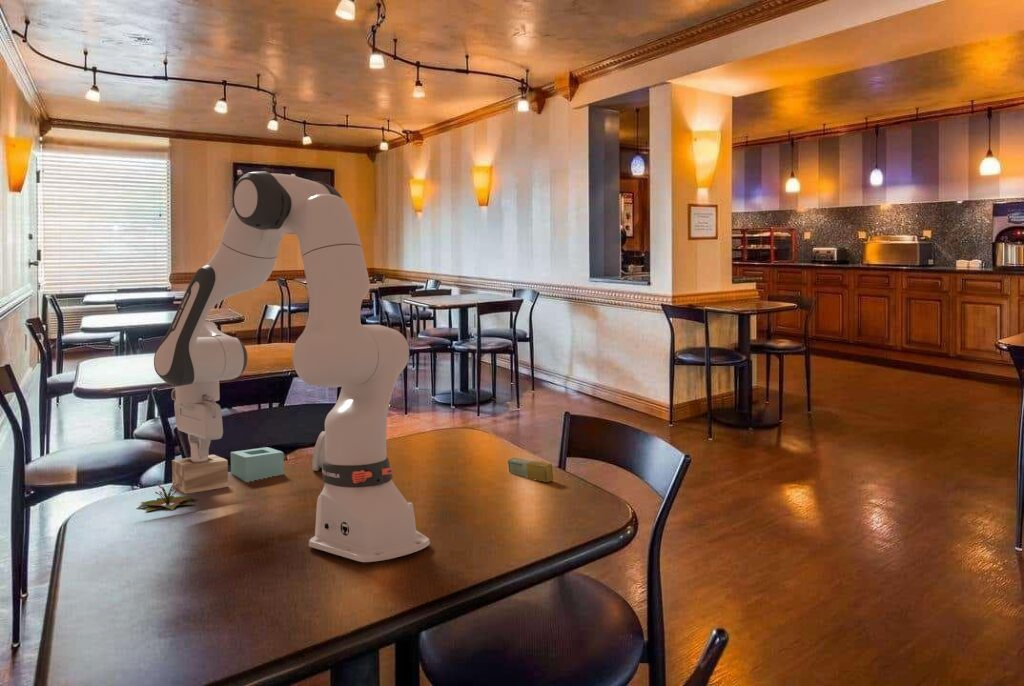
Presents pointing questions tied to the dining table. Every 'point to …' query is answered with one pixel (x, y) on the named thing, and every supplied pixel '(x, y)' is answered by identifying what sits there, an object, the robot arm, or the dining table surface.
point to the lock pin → (196, 453)
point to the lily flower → (167, 500)
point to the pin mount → (200, 474)
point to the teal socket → (257, 463)
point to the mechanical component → (319, 452)
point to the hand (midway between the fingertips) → (199, 455)
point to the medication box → (531, 469)
